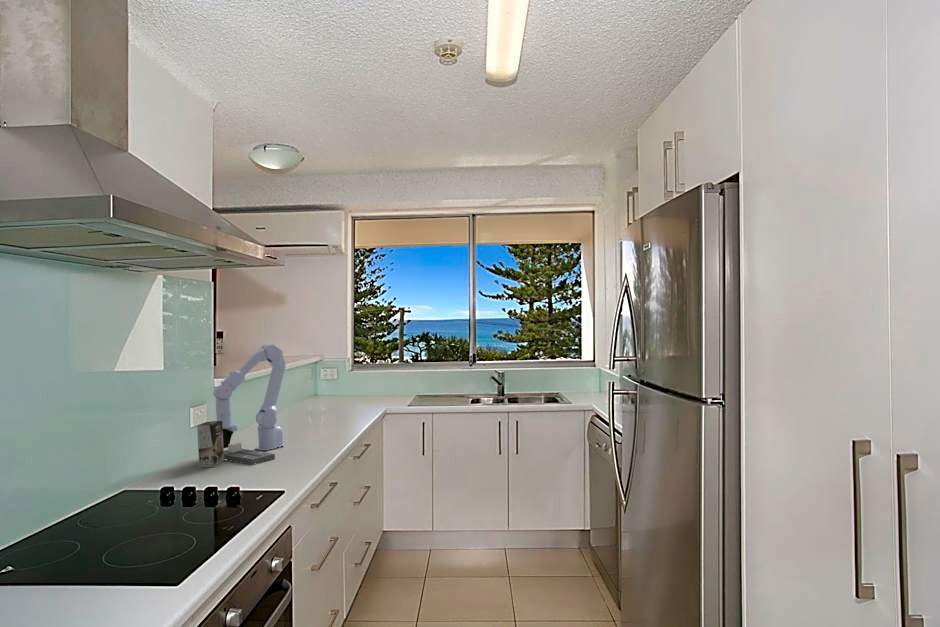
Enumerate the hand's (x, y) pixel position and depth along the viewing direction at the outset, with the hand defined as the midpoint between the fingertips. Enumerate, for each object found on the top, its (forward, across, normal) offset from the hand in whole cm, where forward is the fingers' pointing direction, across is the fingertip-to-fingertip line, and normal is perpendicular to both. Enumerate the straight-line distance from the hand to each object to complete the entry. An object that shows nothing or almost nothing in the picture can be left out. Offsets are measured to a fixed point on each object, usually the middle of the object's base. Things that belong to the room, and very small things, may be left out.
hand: (225, 447), depth 265 cm
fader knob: (+1, +6, 0) cm, 7 cm away
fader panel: (+3, +12, 0) cm, 13 cm away
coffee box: (+3, +10, -12) cm, 16 cm away
